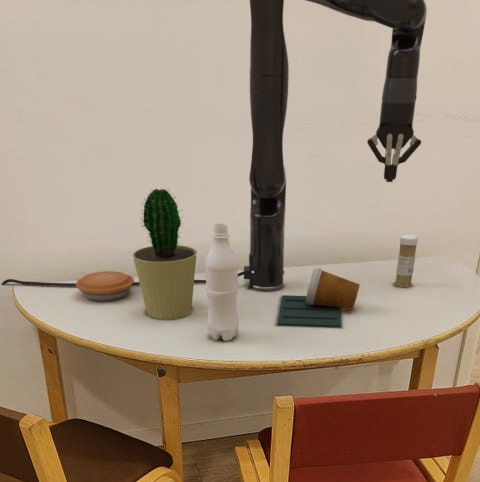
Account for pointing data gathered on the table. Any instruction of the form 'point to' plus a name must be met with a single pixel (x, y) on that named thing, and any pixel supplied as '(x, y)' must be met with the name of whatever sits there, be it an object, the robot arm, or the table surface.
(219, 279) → the water bottle
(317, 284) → the disposable coffee cup
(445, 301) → the table surface
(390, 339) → the table surface
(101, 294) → the pie
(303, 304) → the mat
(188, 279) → the potted cactus
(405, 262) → the sprinkles bottle
